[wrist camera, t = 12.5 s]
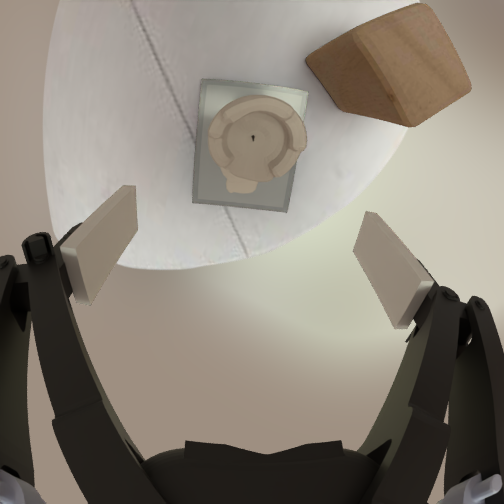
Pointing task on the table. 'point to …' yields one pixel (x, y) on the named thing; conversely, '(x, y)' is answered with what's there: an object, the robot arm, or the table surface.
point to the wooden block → (393, 67)
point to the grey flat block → (209, 173)
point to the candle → (255, 140)
